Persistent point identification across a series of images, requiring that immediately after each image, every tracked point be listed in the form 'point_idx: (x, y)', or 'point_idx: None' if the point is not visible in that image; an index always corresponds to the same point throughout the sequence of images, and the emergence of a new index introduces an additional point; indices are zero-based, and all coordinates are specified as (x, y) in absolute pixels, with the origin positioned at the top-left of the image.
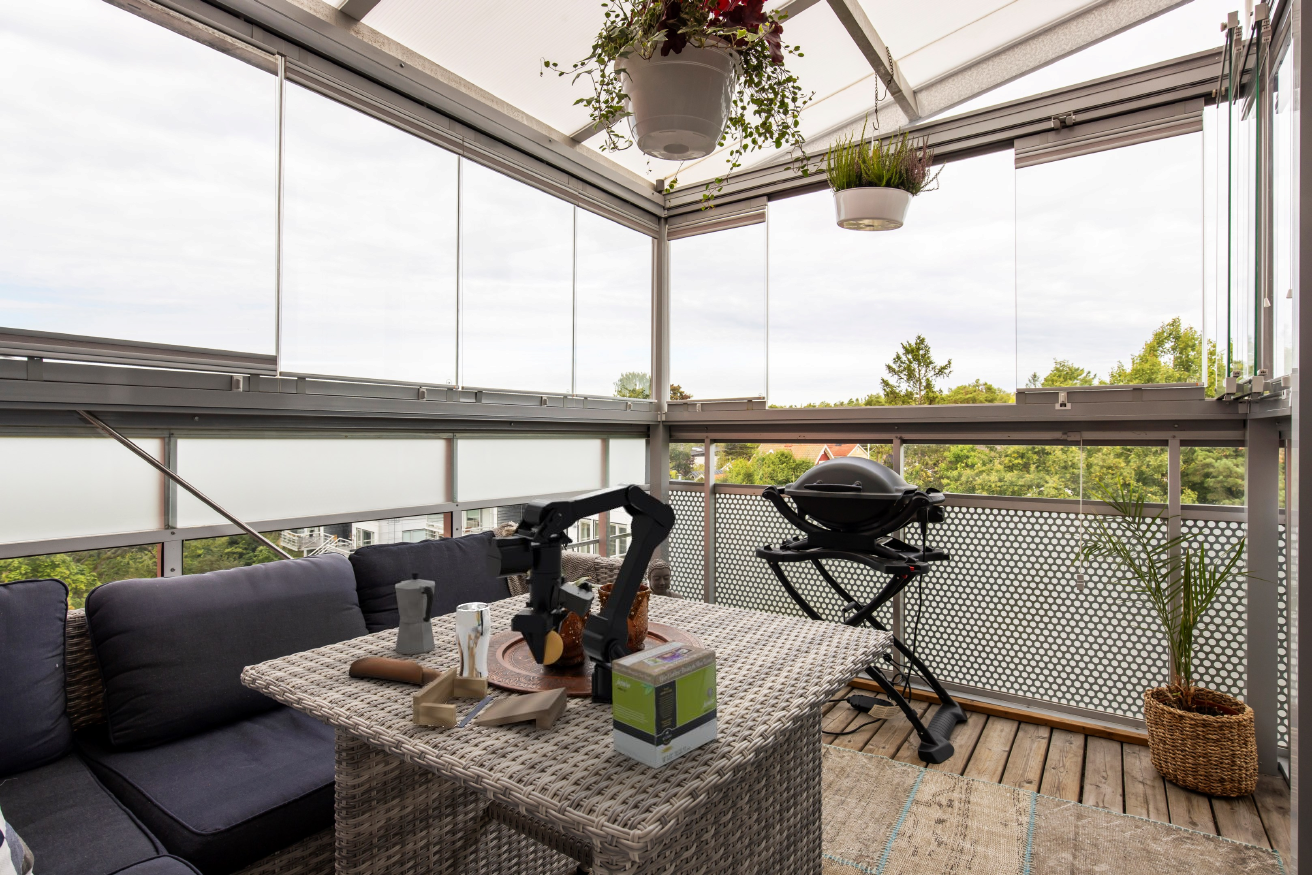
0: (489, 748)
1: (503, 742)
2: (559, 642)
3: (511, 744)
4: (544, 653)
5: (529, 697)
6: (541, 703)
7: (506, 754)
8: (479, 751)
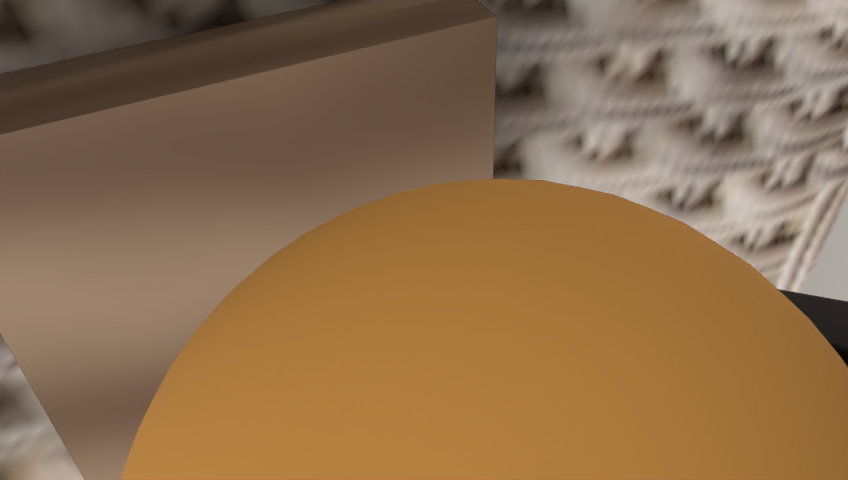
0: (702, 182)
1: (635, 160)
2: (661, 301)
3: (648, 103)
4: (824, 316)
5: (153, 387)
6: (339, 172)
7: (747, 57)
8: (733, 205)
